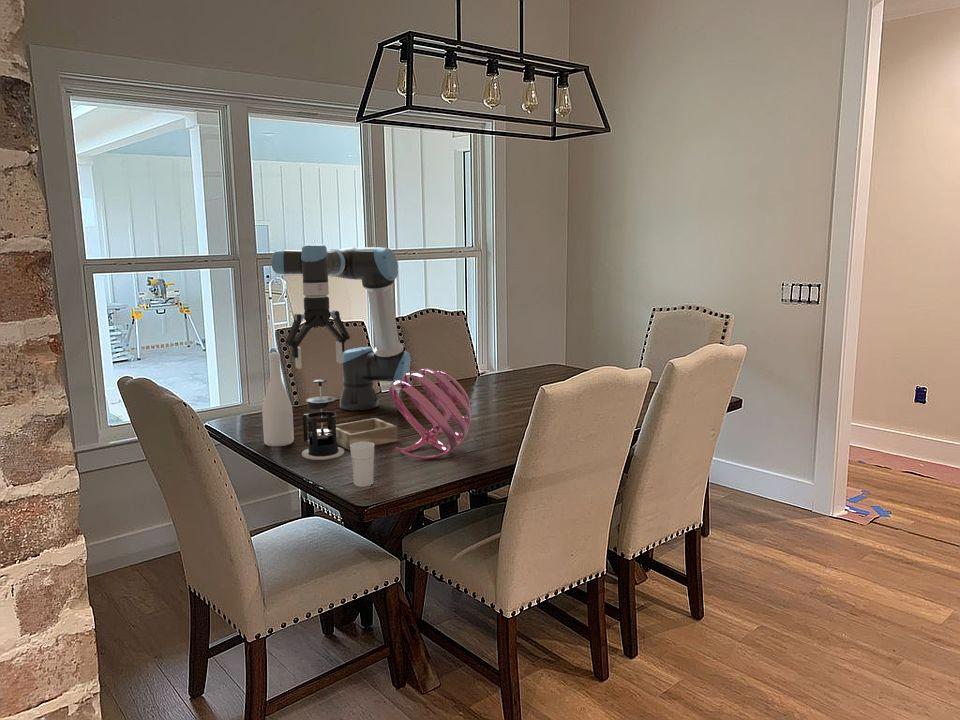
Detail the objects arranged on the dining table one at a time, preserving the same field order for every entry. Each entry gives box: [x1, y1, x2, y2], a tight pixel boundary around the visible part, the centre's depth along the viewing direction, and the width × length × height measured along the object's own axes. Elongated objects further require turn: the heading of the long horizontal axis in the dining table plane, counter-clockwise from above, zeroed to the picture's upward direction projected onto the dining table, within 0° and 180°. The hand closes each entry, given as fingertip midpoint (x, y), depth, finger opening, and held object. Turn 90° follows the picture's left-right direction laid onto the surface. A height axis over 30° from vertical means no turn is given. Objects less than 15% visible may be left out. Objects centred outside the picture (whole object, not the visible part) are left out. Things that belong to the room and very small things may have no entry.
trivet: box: [301, 446, 345, 461], centre depth 238 cm, size 13×13×1 cm
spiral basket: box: [388, 367, 472, 460], centre depth 235 cm, size 28×28×27 cm
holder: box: [336, 417, 398, 451], centre depth 252 cm, size 14×17×5 cm
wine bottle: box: [261, 351, 295, 448], centre depth 247 cm, size 10×10×30 cm
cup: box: [349, 442, 375, 488], centre depth 209 cm, size 7×7×11 cm
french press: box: [302, 378, 339, 456], centre depth 236 cm, size 12×9×23 cm
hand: (319, 365), depth 233 cm, fingers open, 13 cm apart
